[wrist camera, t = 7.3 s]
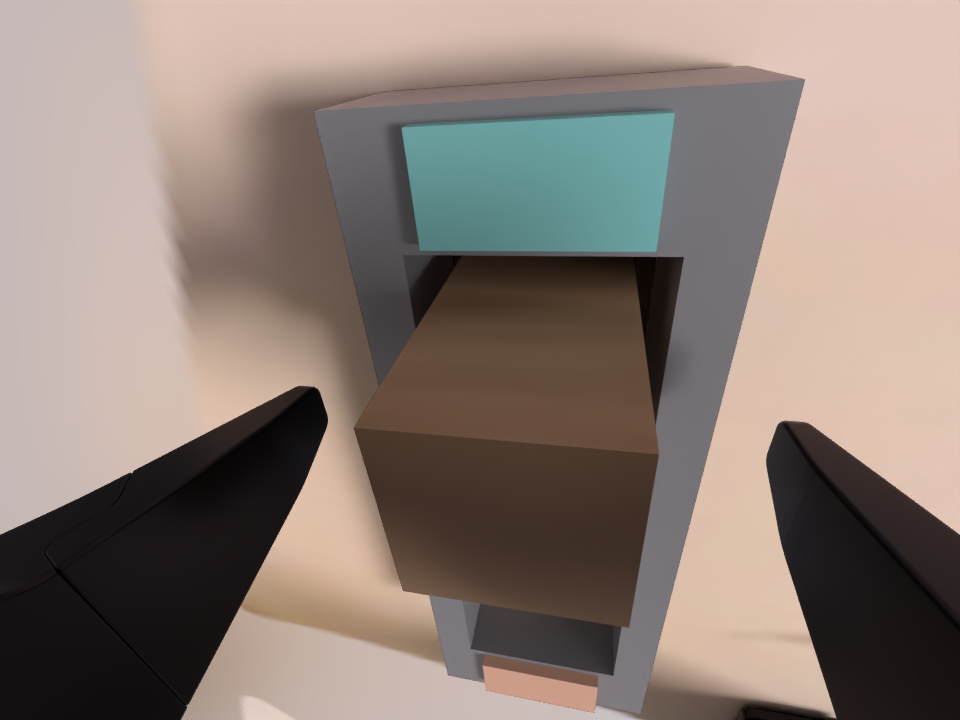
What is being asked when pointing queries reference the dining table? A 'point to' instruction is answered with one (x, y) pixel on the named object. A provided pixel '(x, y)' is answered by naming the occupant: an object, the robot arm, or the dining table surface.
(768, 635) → the dining table surface
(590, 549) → the brown wooden block
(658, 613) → the socket strip
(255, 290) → the dining table surface
